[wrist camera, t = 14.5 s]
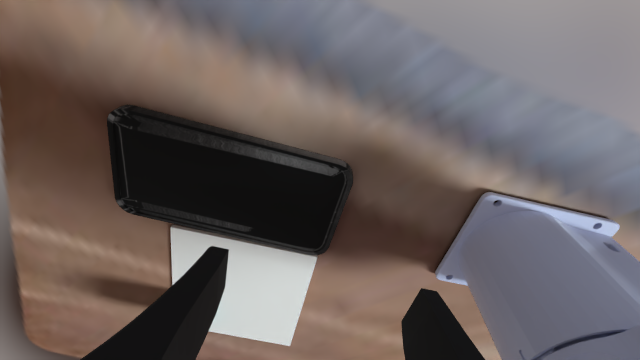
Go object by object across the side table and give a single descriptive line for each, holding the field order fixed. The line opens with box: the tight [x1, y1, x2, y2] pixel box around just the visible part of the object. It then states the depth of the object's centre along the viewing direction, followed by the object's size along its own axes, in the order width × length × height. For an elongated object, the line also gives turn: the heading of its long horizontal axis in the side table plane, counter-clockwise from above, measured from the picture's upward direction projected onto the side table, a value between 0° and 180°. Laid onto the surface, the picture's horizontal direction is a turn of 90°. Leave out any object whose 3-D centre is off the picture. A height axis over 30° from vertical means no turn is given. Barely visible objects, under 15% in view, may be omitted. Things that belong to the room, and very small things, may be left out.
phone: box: [107, 105, 353, 255], centre depth 20 cm, size 8×1×15 cm
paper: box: [170, 225, 318, 346], centre depth 26 cm, size 11×12×1 cm
